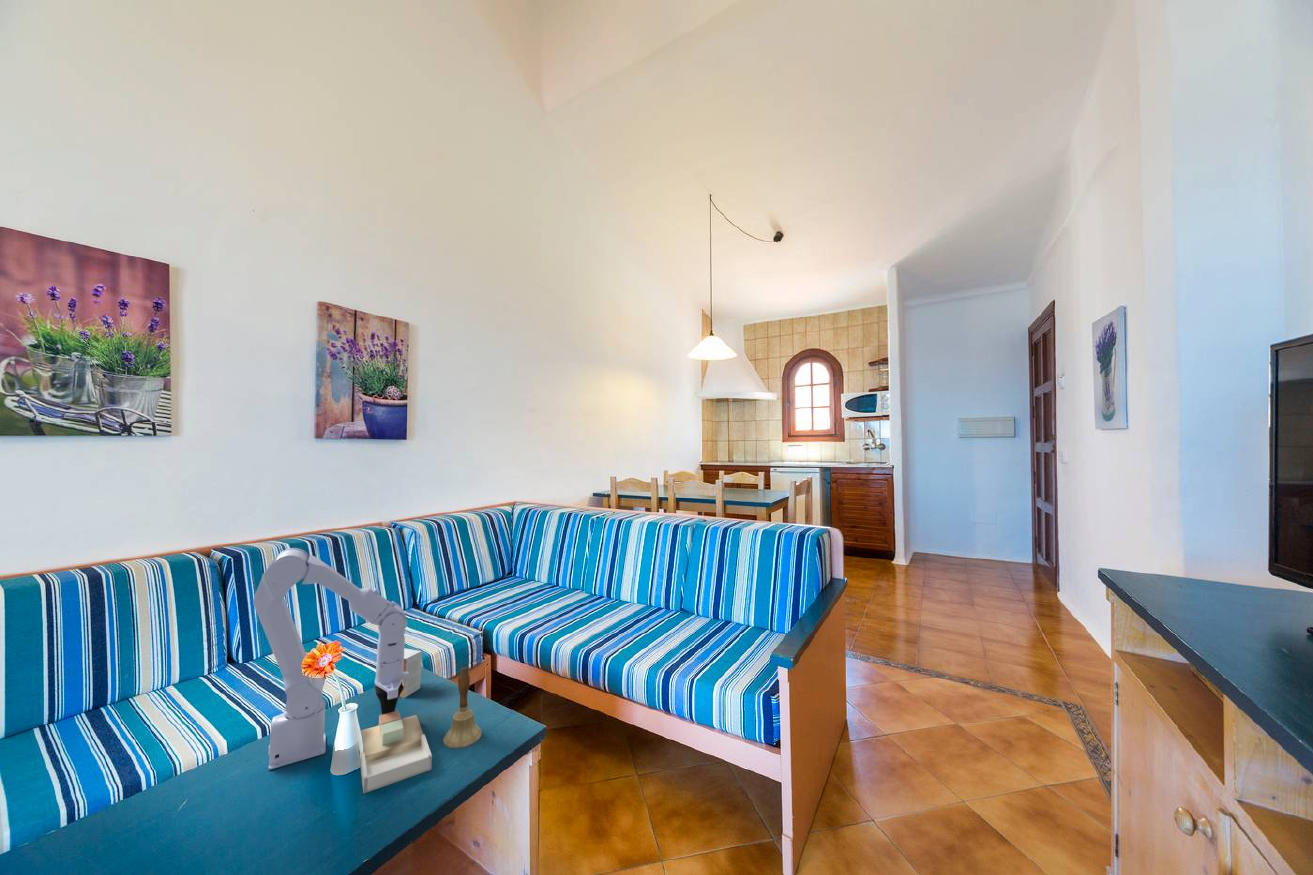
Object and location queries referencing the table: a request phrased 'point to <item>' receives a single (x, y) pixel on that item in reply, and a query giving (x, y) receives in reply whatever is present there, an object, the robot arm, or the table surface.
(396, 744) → the beech board
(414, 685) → the small box
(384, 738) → the sage tile
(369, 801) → the table surface
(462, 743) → the hand bell
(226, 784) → the table surface
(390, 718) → the terracotta tile
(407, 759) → the tray
